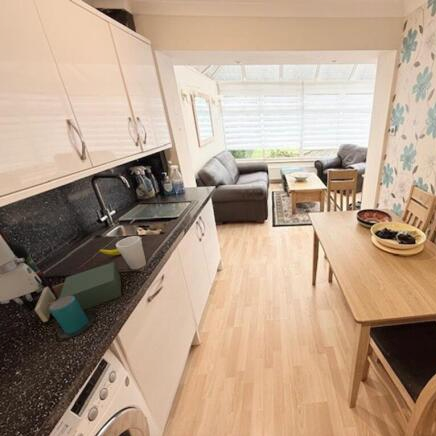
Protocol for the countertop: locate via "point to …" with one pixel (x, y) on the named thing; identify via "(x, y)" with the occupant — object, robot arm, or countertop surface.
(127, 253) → the foam cup
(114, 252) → the banana
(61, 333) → the coaster
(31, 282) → the robot arm
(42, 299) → the drawer
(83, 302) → the cabinet
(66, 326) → the can
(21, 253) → the wine bottle
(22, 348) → the countertop surface
